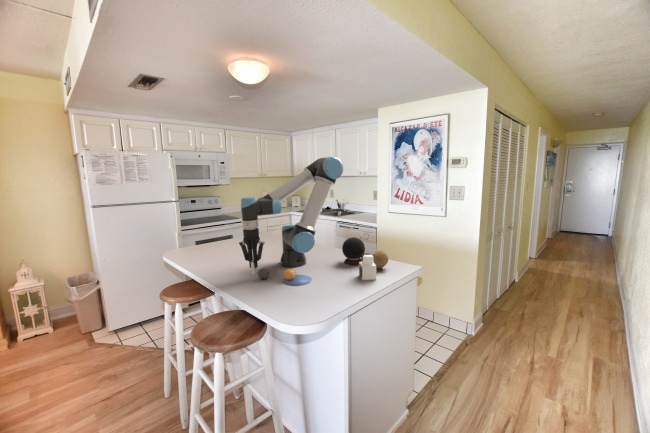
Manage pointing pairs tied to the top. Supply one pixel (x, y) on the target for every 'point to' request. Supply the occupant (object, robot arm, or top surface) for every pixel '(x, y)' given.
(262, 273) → the dark gray ball
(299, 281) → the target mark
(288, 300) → the top surface
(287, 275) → the object ball
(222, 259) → the top surface
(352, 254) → the black sphere on pedestal
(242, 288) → the top surface
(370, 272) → the medicine bottle
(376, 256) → the tan sphere on base
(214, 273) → the top surface
